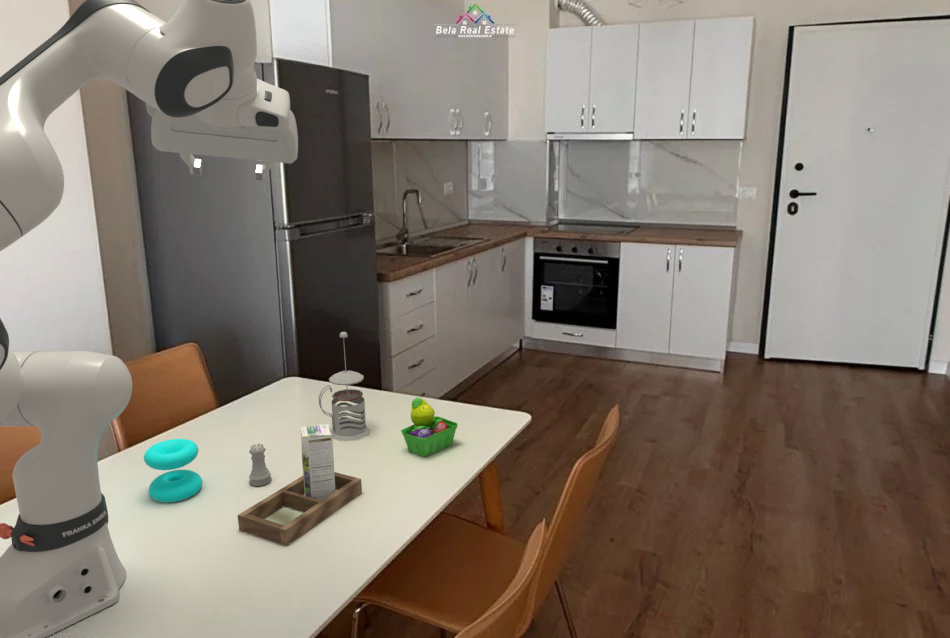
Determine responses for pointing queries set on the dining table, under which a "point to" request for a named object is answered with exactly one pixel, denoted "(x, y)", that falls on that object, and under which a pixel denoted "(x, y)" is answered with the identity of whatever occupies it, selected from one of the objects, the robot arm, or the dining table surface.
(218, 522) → the dining table surface
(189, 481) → the donuts
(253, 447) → the rook chess piece
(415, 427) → the fruit basket
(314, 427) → the syrup box
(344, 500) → the wooden divided tray
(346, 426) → the french press
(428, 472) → the dining table surface
